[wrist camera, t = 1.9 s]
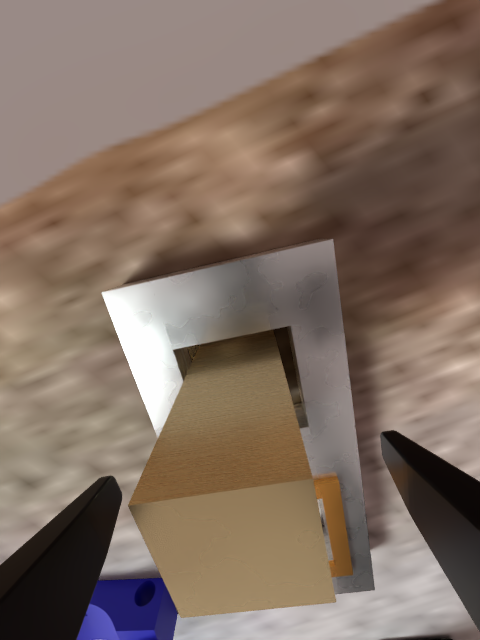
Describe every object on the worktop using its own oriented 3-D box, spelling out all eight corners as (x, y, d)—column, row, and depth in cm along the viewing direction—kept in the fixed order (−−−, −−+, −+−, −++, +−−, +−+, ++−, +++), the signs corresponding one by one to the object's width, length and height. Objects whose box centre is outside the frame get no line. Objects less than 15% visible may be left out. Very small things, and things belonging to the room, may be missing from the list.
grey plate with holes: (319, 238, 12) (335, 239, 10) (361, 554, 19) (376, 595, 17) (122, 284, 13) (97, 293, 11) (225, 570, 20) (222, 612, 18)
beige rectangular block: (273, 329, 14) (313, 478, 5) (286, 393, 15) (336, 602, 6) (200, 343, 14) (128, 505, 6) (218, 405, 15) (181, 618, 7)
